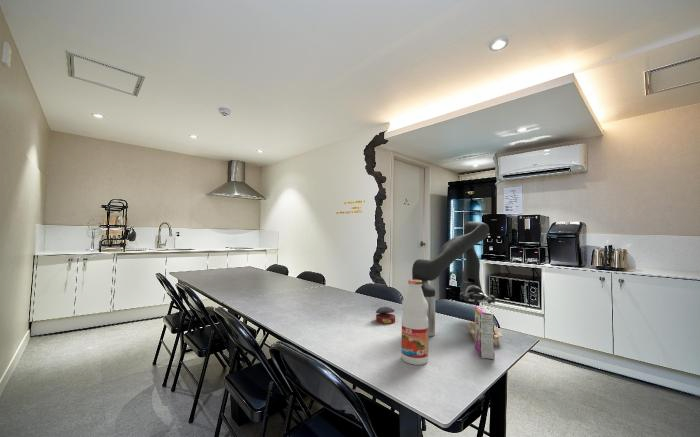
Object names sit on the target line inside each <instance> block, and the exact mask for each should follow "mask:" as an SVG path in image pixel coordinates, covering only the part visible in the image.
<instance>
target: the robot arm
mask: <svg viewBox="0 0 700 437" xmlns="http://www.w3.org/2000/svg"><path fill="white" fill-rule="evenodd" d="M489 233H490V228H489V225H488V224H487V223H485V222H482V221H467V222H466V223H465V224H464V228H463V234H462V235H458V236H454V237H453V238H450V239H449V240H447V241H446V242H445V243H444V244H443V245H442V246H441V248H440V252H439V253H440V254H439V255H438V256H436V257H435V258H433V259H422V258H420V259H419V258H418V259H416V260H415V261H414V262H413V264H412V269H411V273H412V274H411V275H412V276H411V277H412V279H411V280H421V281H422V286H421V288H422V292H423V295H424V297H425V299H426V301H427V303H428V311H427V317H428V324H429V327H428V338H430V337H433V336H435V335H436V290H435V288H433V287H432V286H431V285H430V284H429V281H430V282H431V281H434V280H436V279H438V278H439V277H440V275H442V274H443V272H444V271H445V270H446V269H447V268H449V266H450V265H452V264H453V263H454V262H455V261H456V260H458V259H459V258H460V257H462V256H463V255H464V254H465V269H464V270H465V272H464V276H465V277H466V278H468V279H471V280H473V281H472V282H471V281H463V282H461V284H460V287H459V288H460V289H459V290H460V293H459V299H460V301H462V300H464V301H466V302H468V303H469V302H470V303H471V304H475V305H477V304H480V303H487V304H488V305H490V304H492V303H493V304H495V303H496V296H494V295H493V294H489V295H487V294H486V293H484V292H483V290H482V289H483V288H482V285H481V280H480V270H481V269H480V268H481V262H480V258H479V255H478V254H477V252H476V250H475V247H474V246H476V245H477V244H479V243H480V242H482V241H484V240H485V239H486V238H487V237H488V235H489Z"/></svg>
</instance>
